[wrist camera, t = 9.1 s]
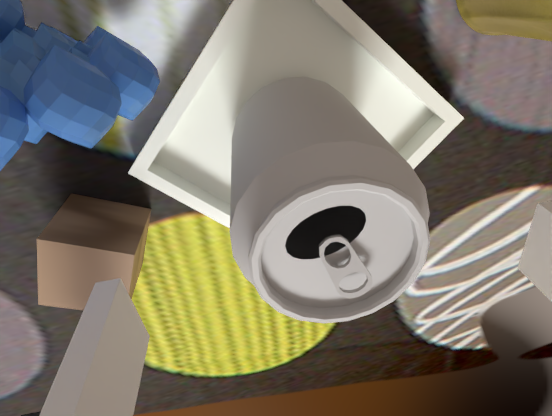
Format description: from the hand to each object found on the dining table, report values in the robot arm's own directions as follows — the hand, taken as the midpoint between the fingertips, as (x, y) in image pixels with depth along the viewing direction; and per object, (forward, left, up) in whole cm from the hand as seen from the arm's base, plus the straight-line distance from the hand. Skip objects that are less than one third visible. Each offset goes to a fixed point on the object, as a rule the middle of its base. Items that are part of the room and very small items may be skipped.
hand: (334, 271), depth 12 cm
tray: (0, 0, -13) cm, 13 cm away
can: (0, 0, -13) cm, 13 cm away
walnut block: (-6, -13, -13) cm, 19 cm away
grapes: (-13, -3, -13) cm, 19 cm away
